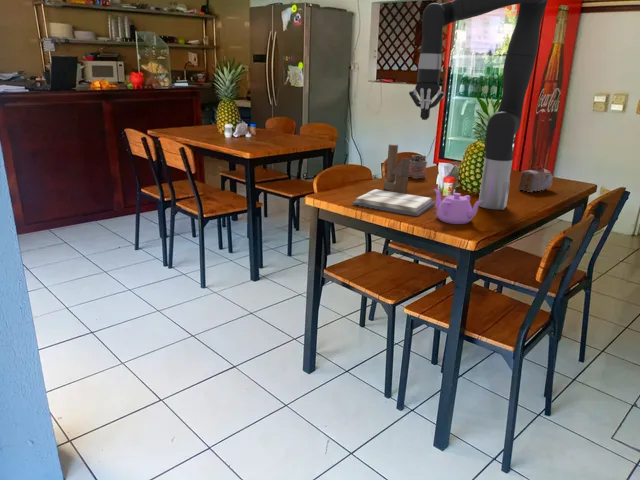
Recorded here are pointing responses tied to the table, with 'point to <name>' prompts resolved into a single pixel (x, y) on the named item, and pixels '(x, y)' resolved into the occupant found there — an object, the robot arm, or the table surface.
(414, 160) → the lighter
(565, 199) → the table surface
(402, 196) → the loose plank
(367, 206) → the underlay mat
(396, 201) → the white flat slab
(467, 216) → the teapot
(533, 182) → the food item
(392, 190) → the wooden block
